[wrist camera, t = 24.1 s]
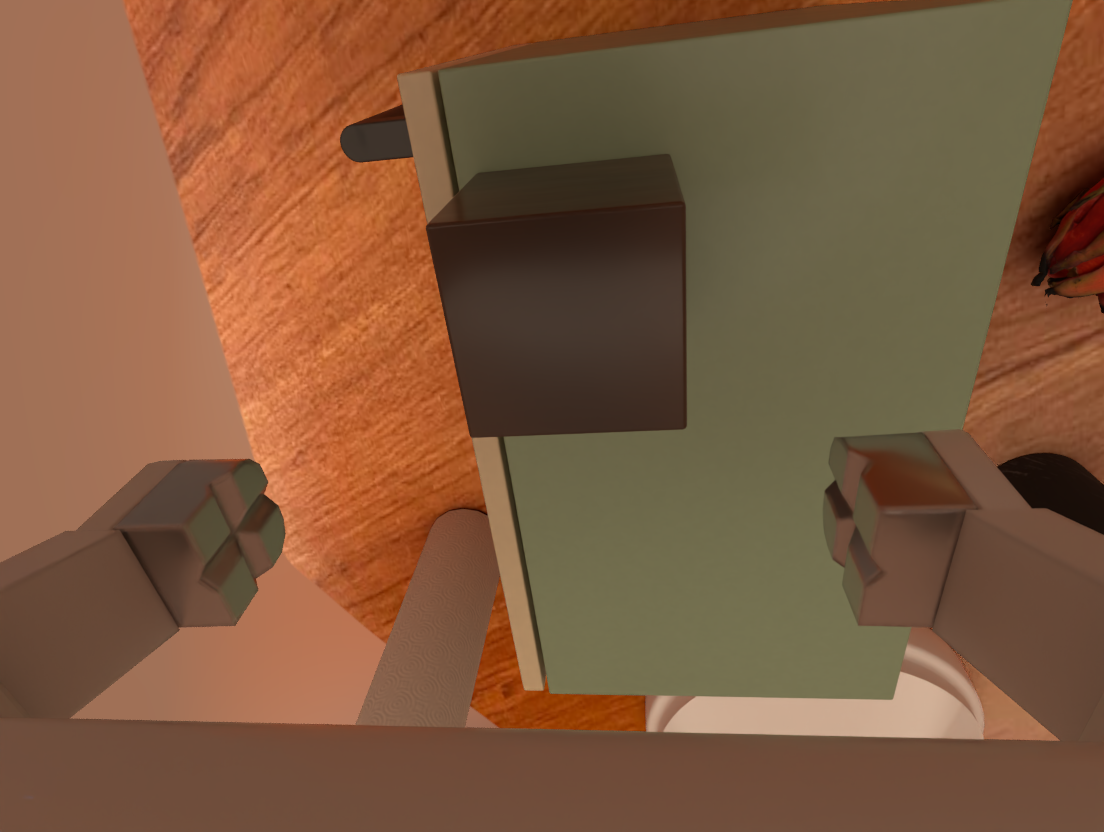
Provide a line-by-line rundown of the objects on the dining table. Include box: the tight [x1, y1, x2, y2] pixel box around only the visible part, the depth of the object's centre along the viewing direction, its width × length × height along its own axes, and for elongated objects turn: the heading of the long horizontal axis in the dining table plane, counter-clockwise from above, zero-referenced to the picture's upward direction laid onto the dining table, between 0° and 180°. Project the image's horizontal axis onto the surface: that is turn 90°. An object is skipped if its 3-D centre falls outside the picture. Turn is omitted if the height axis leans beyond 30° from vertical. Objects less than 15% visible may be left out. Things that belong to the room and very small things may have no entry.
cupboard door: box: [340, 43, 546, 690], centre depth 31 cm, size 7×24×20 cm, turn 6°
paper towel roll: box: [356, 509, 500, 727], centre depth 42 cm, size 7×6×21 cm
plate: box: [645, 627, 984, 739], centre depth 55 cm, size 27×27×6 cm
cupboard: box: [438, 0, 1073, 700], centre depth 29 cm, size 14×24×20 cm, turn 6°
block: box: [426, 154, 687, 438], centre depth 16 cm, size 5×5×5 cm
